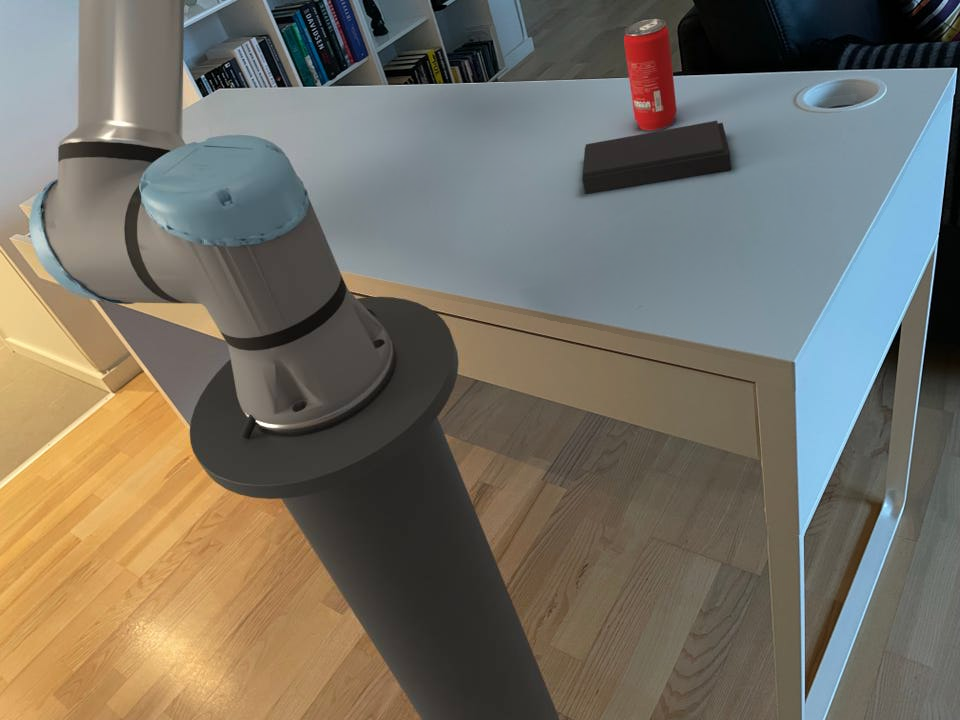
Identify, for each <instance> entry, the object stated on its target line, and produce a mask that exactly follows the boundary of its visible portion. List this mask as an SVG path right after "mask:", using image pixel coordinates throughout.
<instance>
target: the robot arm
mask: <svg viewBox="0 0 960 720" xmlns="http://www.w3.org/2000/svg"><path fill="white" fill-rule="evenodd" d="M184 27H185V0H78V58H77V59H78V60H77V61H78V64H77V65H78V68H77V69H78V72H77V73H78V74H77V76H78V77H77V126H76V128H75V129H74V130H73V131H72V132H70V133H69V134H68V135H67V136H65V137H64V138H63V139H62V140H60V141H59V142H58V148H57V149H58V151H57V153H58V154H57V156H58V157H57V158H58V159H57V178H56V179H54V180H52V181H50V182H49V183H48V184H47V185H45V187H44V188H43V190H42V191H41V192H39V193H38V194H37V195H36V197H35V198H34V200H33V202H32V205H31V209H30V211H29V212H30V213H29V220H28V221H29V222H28V224H29V225H28V229H29V235H30V240H31V244H32V247H33V250H34V253H35V255H36V257H37V259H38V261H39V262H40V265H41V266H42V268H43V269H44V270H45V271H46V272H47V274H49V275H50V276H51V277H52V278H53V279H54V280H55V282H57V284H59V285H60V287H62V288H63V289H65V290H67V291H68V292H70V293H71V294H73V295H76V296H78V297H81V298H83V299H88V300H91V301H92V300H93V301H100V302H101V301H102V302H105V303H108V304H114V305H120V304H121V305H123V304H124V305H133V304H195V305H198V304H199V305H200V304H201V305H202V306H203V307H204V308H206V311H207V312H208V314H209V316H210V317H211V320H212V321H213V322H214V324H215V325H216V328H217V329H218V331H219V332H220V334H221V335H222V337H223V339H224V341H225V343H226V344H227V347H228V352H229V356H230V359H231V363H232V369H233V375H234V381H235V387H236V392H237V397H238V400H239V403H240V406H241V408H242V410H243V412H244V413H245V415H246V416H247V418H248V419H247V421H246V423H245V426H244V428H243V430H242V432H241V434H240V436H242V437H244V438H246V439H249V438H250V436H251V433H252V431H253V429H254V427H255V428H257V429H258V430H260V431H262V432H264V433H267V434H270V435H275V436H300V435H306V434H311V433H315V432H318V431H322V430H325V429H327V428H330V427H333V426H335V425H337V424H339V423H341V422H343V421H345V420H347V419H349V418H350V417H352V416H354V415H355V414H357V413H358V412H360V411H361V410H363V409H364V408H365V407H366V406H368V405H369V404H370V403H371V402H372V401H373V400H375V399H376V397H377V396H378V395H379V394H380V393H381V392H382V391H383V390H384V388H385V387H386V386H387V384H388V383H389V381H390V379H391V377H392V375H393V373H394V370H395V367H396V351H395V348H394V346H393V343H392V341H391V339H390V336H389V335H388V333H387V332H386V330H385V329H384V327H383V326H382V325H381V324H380V322H379V321H378V320H377V319H376V318H375V317H374V316H376V315H375V313H374V312H373V311H372V310H370V309H367V308H365V307H364V306H363V305H362V304H361V303H360V302H359V301H358V300H357V298H358V297H356V296H355V295H354V294H353V293H352V292H351V291H350V289H348V286H347V284H346V283H345V282H346V281H345V280H344V278H343V276H342V273H341V271H340V268H339V265H338V264H337V260H336V259H335V256H334V254H333V251H332V249H331V247H330V245H329V242H328V240H327V237H326V235H325V233H324V230H323V228H322V226H321V223H320V220H319V219H318V216H317V214H316V211H315V209H314V207H313V204H312V202H311V199H310V197H309V193H308V190H307V189H306V187H305V185H304V182H303V180H301V178H300V177H299V176H298V174H297V173H296V170H295V169H294V167H293V165H292V162H291V161H290V159H289V157H288V155H286V153H285V152H284V151H283V150H282V148H280V146H278V145H277V144H275V143H274V142H271V141H270V140H267V139H265V138H262V137H259V136H254V135H247V134H246V135H245V134H227V135H226V134H225V135H219V136H213V137H208V138H206V140H204V141H201V142H196V141H193V142H190V143H187V144H186V142H185V141H184V138H183V123H184V122H183V121H184V120H183V116H184V114H183V111H184V108H183V107H184V45H185V44H184V41H185V40H184V35H185V34H184V33H185V28H184ZM373 315H374V316H373ZM376 317H377V316H376Z"/></svg>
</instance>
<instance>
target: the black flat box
mask: <svg viewBox="0 0 960 720" xmlns="http://www.w3.org/2000/svg"><path fill="white" fill-rule="evenodd" d="M583 154H584V155H583V164H582V175H581V179H582V184H583V185H582V186H583V188H584V189H583V190H584V194H592V193H598V192H605V191H610V190H616V189H623V188H628V187H634V186H640V185H646V184H653V183H659V182H665V181H671V180H677V179H683V178H689V177H694V176H701V175H707V174H713V173H721V172H727V171H730V170H732V169H731V167H732V166H731V154H730V148H729V144H728V139H727V135H726V131H725V127H724V123H723V122H718V120H713V121H707V122H701V123H696V124H691V125H684V126H680V127H674V128H667V129H661V130H656V131H650V132H646V133H641V134H635V135H630V136H625V137H619V138H613V139H608V140H602V141H597V142H592V143H586V144H585V147H584V153H583Z"/></svg>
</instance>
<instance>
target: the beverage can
mask: <svg viewBox="0 0 960 720" xmlns="http://www.w3.org/2000/svg"><path fill="white" fill-rule="evenodd" d="M669 31H670V30H669V28H668V26H667V25H666V21H665V20H664V19H660V18H652V19H645V20H640V21H637V22H635V23H632V24H630V25H629V26H627V27H626V28H625V30H624V33H625V35H624V38H623V42H624V43H623V44H624V49H625V57H626V58H625V59H626V66H627V72H628V79H629V87H630V94H631V100H632V109H633V115H634V120H635V122H636V123H637V125H638V128H639V129H641V130H643V131H649V132H655V131H661V130H664V129H665V128H668V127H670V126H671V125H673V124H674V122H675V117H676V115H677V99H676V93H675V92H676V91H675V80H674V70H673V61H672V51H671V42H670V33H669Z"/></svg>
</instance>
